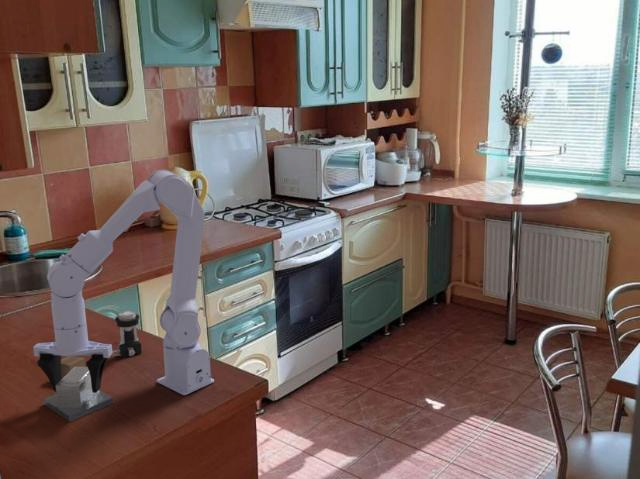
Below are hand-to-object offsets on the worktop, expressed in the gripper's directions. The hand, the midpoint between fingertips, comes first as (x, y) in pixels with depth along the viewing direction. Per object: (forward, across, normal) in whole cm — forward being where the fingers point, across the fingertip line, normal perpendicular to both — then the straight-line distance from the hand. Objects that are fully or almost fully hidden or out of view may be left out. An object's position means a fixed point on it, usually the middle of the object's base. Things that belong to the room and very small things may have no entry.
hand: (77, 389), depth 117 cm
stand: (+3, 0, 0) cm, 3 cm away
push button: (+3, -1, -23) cm, 23 cm away
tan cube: (+3, +6, -11) cm, 13 cm away
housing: (+2, 0, 0) cm, 2 cm away
